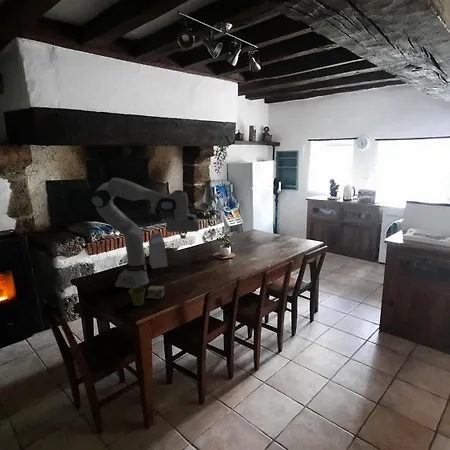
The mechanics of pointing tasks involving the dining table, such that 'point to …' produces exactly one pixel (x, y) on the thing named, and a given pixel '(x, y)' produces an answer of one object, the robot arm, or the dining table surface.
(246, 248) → the dining table surface
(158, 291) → the beech block
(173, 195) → the robot arm
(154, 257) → the milk
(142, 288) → the plant pot
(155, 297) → the grey mat
